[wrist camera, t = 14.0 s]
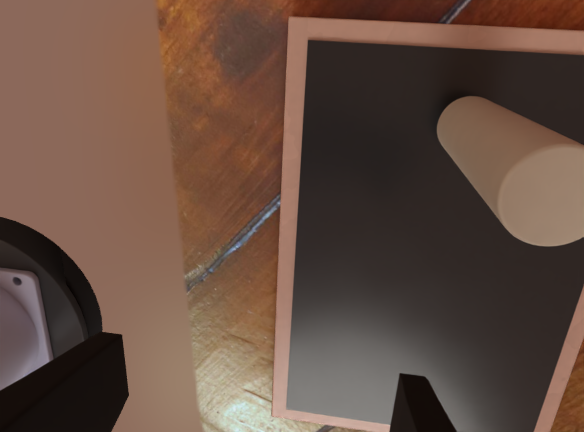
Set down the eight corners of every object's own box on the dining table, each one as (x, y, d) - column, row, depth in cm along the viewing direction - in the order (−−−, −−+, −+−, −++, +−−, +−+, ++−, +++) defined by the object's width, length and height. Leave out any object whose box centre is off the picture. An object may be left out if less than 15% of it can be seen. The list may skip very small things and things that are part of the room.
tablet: (274, 403, 25) (270, 418, 24) (292, 17, 18) (288, 15, 17) (533, 442, 24) (541, 460, 23) (674, 36, 16) (695, 35, 15)
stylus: (428, 147, 18) (487, 241, 9) (437, 91, 17) (511, 139, 9) (485, 152, 17) (598, 253, 9) (498, 94, 17) (634, 148, 8)
